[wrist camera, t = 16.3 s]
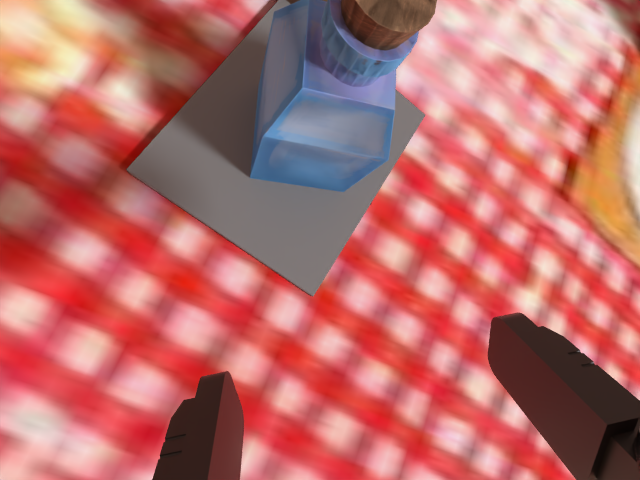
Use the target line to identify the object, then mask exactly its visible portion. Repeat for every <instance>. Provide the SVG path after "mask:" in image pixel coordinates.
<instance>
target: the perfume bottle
mask: <svg viewBox="0 0 640 480" xmlns="http://www.w3.org/2000/svg"><path fill="white" fill-rule="evenodd" d="M436 2H437V0H327V2H326V1H322V0H300V1H297V2H295V3H293V4H290V5H288V6H286V7H283V8H281V9H279V10H277V11H274V14H273V19H272V24H271V29H270V33H269V38H268V43H267V48H266V52H265V57H264V62H263V67H262V72H261V76H260V81H259V86H258V97H257V107H256V118H255V129H254V140H253V150H252V161H251V172H250V178H252V179H259V180H266V181H272V182H279V183H286V184H293V185H299V186H306V187H313V188H319V189H326V190H333V191H340V192H344V191H346V190H347V189H349V188H350V187H351V186H353V185H354V184H356V183H357V182H358V181H360V180H361V179H363V178H364V177H365V176H367V175H368V174H370V173H371V172H372V171H374V170H375V169H377V168H378V167H379V166H381V165H382V164H384V163H385V162H386V161H388V160H389V153H390V145H391V137H392V129H393V121H394V113H395V88H396V68H397V67H398V66H399V65H400V64H401V62H402V61H403V60H404V59H405V58H406V56H407V55H408V54H409V53H410V52H411V50H412V48H413V47H414V45H415V43H416V42H417V37H418V32H419V30H420V29H422V28H423V27H424V26H426V25H427V24H428V23H429V22H430V20H431V18H432V17H433V15H434V13H435V8H436Z"/></svg>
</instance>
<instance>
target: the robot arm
mask: <svg viewBox="0 0 640 480" xmlns="http://www.w3.org/2000/svg"><path fill="white" fill-rule="evenodd" d="M488 360H489V364H490V367H491V369H492V371H493V373H494V375H495V376H496V378H497V379H498V380H499V381H500V383H501V384H502V385H503V386H504V388H505V389H506V390H507V392H508V393H509V394H510V395H511V397H512V398H513V399H514V401H515V402H516V403H517V404H518V406H519V407H520V408H521V409H522V411H523V412H524V413H525V415H526V416H527V417H528V418H529V420H530V421H531V422H532V424H533V425H534V426H535V427H536V429H537V430H538V431H539V432H540V434H541V435H542V436H543V438H544V439H545V440H546V441H547V443H548V444H549V445H550V447H551V448H552V449H553V450H554V452H555V453H556V454H557V456H558V457H559V458H560V459H561V461H562V462H563V463H564V464H565V466H566V467H567V468H568V470H569V471H570V472H571V473H572V475H573V476H574V477H575V479H576V480H640V401H639V400H638V399H637V398H636V397H635V396H633V395H632V394H631V393H630V392H629V391H628V390H626V389H625V388H624V387H623V386H622V385H620V384H619V383H618V382H617V381H616V380H614V379H613V378H612V377H611V376H610V375H609V374H607V373H606V372H605V371H604V370H603V369H601V368H600V367H599V366H598V365H595V364H594V362H593V361H592V360H591V359H590V358H588V357H587V356H586V355H585V354H584V353H581V352H580V350H579V349H578V348H577V347H575V346H574V345H573V344H572V343H571V342H569V341H568V340H567V339H566V338H565V337H564V336H562V335H560V334H558V333H556V332H554V331H552V330H550V329H548V328H546V327H544V326H541V327H537V326H536V325H535V324H534V323H533V322H532V321H531V320H530V319H528V318H527V317H526V316H525V315H524V314H522V313H514V314H509V315H504V316H499V317H495V318H493V319H492V321H491V329H490V339H489V348H488ZM243 434H244V417H243V410H242V406H241V403H240V400H239V397H238V394H237V392H236V389H235V386H234V383H233V380H232V377H231V375H230V373H229V372H228V371H226V372H222V373H217V374H212V375H207V376H202V377H201V378H200V381H199V384H198V388H197V392H196V396H195V398H192V399H187V400H184V401H183V402H182V403H181V405H180V406H179V408H178V409H177V411H176V412H175V414H174V415H173V416H172V418H171V420H170V424H169V427H168V430H167V434H166V437H165V442H164V443H163V447H162V450H161V453H160V459H159V460H158V463H157V466H156V469H155V473H154V476H153V479H152V480H240V471H241V458H242V446H243Z"/></svg>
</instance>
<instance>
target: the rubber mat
mask: <svg viewBox="0 0 640 480" xmlns="http://www.w3.org/2000/svg"><path fill="white" fill-rule="evenodd" d="M288 5H290V3H289V2H288V1H287V0H278V1H277V2H276V4H275V5H274V6H273V7H272V8H271V9H270V10H269V11H268V12H267V14H266V15H265V16H264V17H263V18H262V19H261V20H260V21H259V22H258V24H257V25H256V26H255V27H254V28H253V29H252V30H251V31H250V32H249V34H248V35H247V36H246V37H245V38H244V39H243V40H242V41H241V42H240V44H239V45H238V46H237V47H236V48H235V49H234V50H233V51H232V52H231V54H230V55H229V56H228V57H227V58H226V59H225V60H224V61H223V62H222V64H221V65H220V66H219V67H218V68H217V69H216V70H215V71H214V73H213V74H212V75H211V76H210V77H209V78H208V79H207V80H206V81H205V83H204V84H203V85H202V86H201V87H200V88H199V89H198V90H197V91H196V93H195V94H194V95H193V96H192V97H191V98H190V99H189V100H188V101H187V103H186V104H185V105H184V106H183V107H182V108H181V109H180V110H179V111H178V113H177V114H176V115H175V116H174V117H173V118H172V119H171V120H170V121H169V123H168V124H167V125H166V126H165V127H164V128H163V129H162V130H161V131H160V133H159V134H158V135H157V136H156V137H155V138H154V139H153V140H152V141H151V143H150V144H149V145H148V146H147V147H146V148H145V149H144V150H143V151H142V153H141V154H140V155H139V156H138V157H137V158H136V159H135V160H134V161H133V163H132V164H131V165H130V166H129V167H128V168H127V169H126V170H127V171H128V173H130V174H131V175H133V176H134V177H136V178H137V179H138V180H140V181H141V182H143V183H144V184H146V185H147V186H149V187H150V188H152V189H153V190H155V191H156V192H158V193H159V194H161V195H162V196H164V197H165V198H167V199H168V200H170V201H171V202H172V203H174V204H175V205H177V206H178V207H180V208H181V209H183V210H184V211H186V212H187V213H189V214H190V215H192V216H193V217H195V218H196V219H198V220H199V221H201V222H202V223H204V224H205V225H206V226H208V227H209V228H211V229H212V230H214V231H215V232H217V233H218V234H220V235H221V236H223V237H224V238H226V239H227V240H229V241H230V242H232V243H233V244H235V245H236V246H238V247H239V248H240V249H242V250H243V251H245V252H246V253H248V254H249V255H251V256H252V257H254V258H255V259H257V260H258V261H260V262H261V263H263V264H264V265H266V266H267V267H269V268H270V269H272V270H273V271H274V272H276V273H277V274H279V275H280V276H282V277H283V278H285V279H286V280H288V281H289V282H291V283H292V284H294V285H295V286H297V287H298V288H300V289H301V290H303V291H304V292H306V293H307V294H308V295H310V296H314V294H315V293H316V291H317V290H318V288H319V286H320V285H321V283H322V281H323V280H324V278H325V277H326V275H327V273H328V272H329V270H330V268H331V267H332V265H333V264H334V262H335V260H336V259H337V257H338V256H339V254H340V252H341V251H342V249H343V247H344V246H345V244H346V243H347V241H348V239H349V238H350V236H351V235H352V233H353V231H354V230H355V228H356V226H357V225H358V223H359V222H360V220H361V218H362V217H363V215H364V214H365V212H366V210H367V209H368V207H369V205H370V204H371V202H372V201H373V199H374V197H375V196H376V194H377V193H378V191H379V189H380V188H381V186H382V184H383V183H384V181H385V180H386V178H387V176H388V175H389V173H390V172H391V170H392V168H393V167H394V165H395V163H396V162H397V160H398V159H399V157H400V155H401V154H402V152H403V150H404V149H405V147H406V146H407V144H408V142H409V141H410V139H411V138H412V136H413V134H414V133H415V131H416V129H417V128H418V126H419V125H420V123H421V121H422V120H423V118H424V117H425V114H424V113H423V112H421V111H420V110H419V109H418V108H417V107H416V106H414V105H413V104H412V103H411V102H410V101H409V100H407V99H406V98H405V97H404V96H403V95H402V94H400V93H399V92H398V91H397V90H396V89H395V113H394V121H393V129H392V137H391V145H390V153H389V160H388V161H386V162H385V163H384V164H382V165H381V166H379V167H378V168H377V169H375V170H374V171H372V172H371V173H370V174H368V175H367V176H365V177H364V178H363V179H361V180H360V181H358V182H357V183H356V184H354V185H353V186H351V187H350V188H349V189H347V190H346V191H344V192H340V191H333V190H326V189H319V188H313V187H306V186H299V185H293V184H286V183H279V182H272V181H266V180H259V179H252V178H250V172H251V161H252V150H253V140H254V129H255V118H256V107H257V97H258V86H259V81H260V76H261V72H262V67H263V62H264V57H265V52H266V48H267V43H268V38H269V33H270V29H271V24H272V19H273V14H274V11H277V10H279V9H281V8H283V7H286V6H288Z"/></svg>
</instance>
